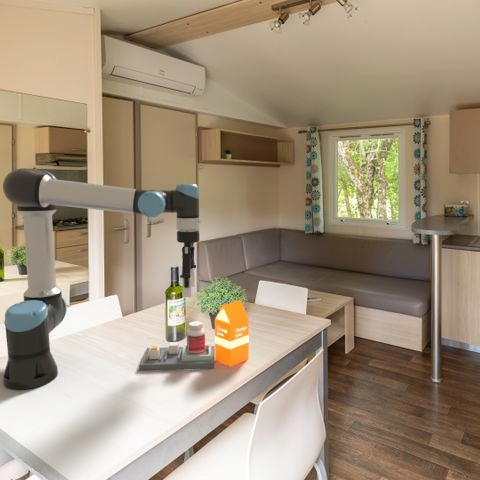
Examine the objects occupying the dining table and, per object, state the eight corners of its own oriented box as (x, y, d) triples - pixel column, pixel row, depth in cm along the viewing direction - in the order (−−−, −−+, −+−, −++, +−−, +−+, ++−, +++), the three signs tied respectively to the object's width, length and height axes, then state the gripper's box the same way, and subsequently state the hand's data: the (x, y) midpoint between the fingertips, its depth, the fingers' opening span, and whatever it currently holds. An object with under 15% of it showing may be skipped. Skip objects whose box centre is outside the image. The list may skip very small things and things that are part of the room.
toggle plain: (169, 354, 145) (168, 345, 144) (169, 350, 148) (169, 342, 147) (177, 353, 145) (177, 345, 144) (178, 350, 148) (178, 342, 147)
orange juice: (214, 359, 145) (214, 303, 142) (233, 352, 151) (232, 297, 149) (230, 366, 140) (230, 308, 137) (249, 358, 146) (249, 302, 143)
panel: (140, 370, 137) (139, 360, 136) (147, 353, 151) (146, 343, 150) (214, 368, 138) (214, 358, 138) (214, 351, 152) (214, 342, 152)
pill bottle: (208, 355, 144) (208, 324, 142) (192, 359, 140) (191, 327, 139) (199, 349, 149) (199, 319, 147) (184, 353, 145) (183, 322, 144)
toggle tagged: (149, 359, 141) (149, 349, 140) (150, 355, 144) (150, 345, 143) (158, 358, 141) (158, 349, 140) (159, 355, 144) (159, 345, 143)
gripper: (196, 234, 131) (197, 301, 134) (201, 226, 156) (202, 282, 159) (172, 234, 131) (173, 301, 134) (180, 226, 155) (181, 282, 158)
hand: (188, 291), depth 146 cm, fingers open, 13 cm apart
